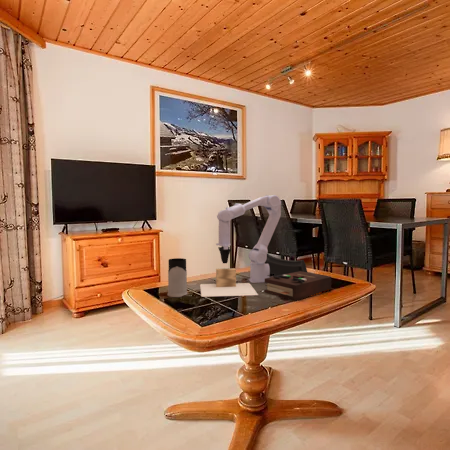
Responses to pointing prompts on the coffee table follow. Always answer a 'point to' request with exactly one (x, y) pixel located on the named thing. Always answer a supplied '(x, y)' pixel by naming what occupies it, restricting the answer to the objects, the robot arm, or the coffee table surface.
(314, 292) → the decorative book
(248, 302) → the coffee table surface
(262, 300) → the coffee table surface
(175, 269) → the glass holder
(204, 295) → the mat
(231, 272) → the tile
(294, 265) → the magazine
